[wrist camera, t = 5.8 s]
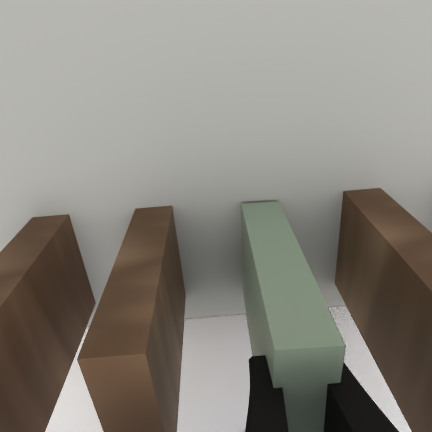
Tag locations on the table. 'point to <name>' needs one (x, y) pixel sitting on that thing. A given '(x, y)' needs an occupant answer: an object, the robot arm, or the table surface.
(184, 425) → the table surface
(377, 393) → the table surface
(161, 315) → the domino
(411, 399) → the domino
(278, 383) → the sage domino
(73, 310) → the domino
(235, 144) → the grey mat
